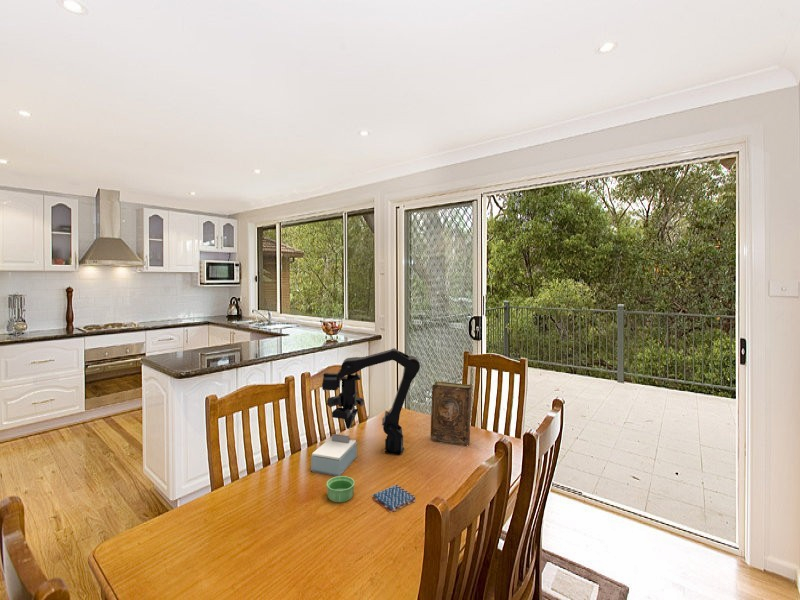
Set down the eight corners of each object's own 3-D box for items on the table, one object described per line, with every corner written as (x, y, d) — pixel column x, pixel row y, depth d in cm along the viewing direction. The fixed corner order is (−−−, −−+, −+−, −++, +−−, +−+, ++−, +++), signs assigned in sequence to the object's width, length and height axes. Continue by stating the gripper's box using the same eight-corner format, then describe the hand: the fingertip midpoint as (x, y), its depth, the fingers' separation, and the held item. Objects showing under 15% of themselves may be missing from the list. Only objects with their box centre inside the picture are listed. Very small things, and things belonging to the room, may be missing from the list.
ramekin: (320, 498, 127) (320, 485, 127) (337, 485, 135) (337, 473, 135) (343, 507, 123) (343, 493, 123) (359, 493, 131) (360, 480, 131)
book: (470, 441, 174) (472, 384, 172) (468, 446, 168) (470, 388, 167) (433, 436, 178) (434, 381, 177) (430, 441, 173) (432, 384, 172)
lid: (331, 438, 159) (331, 431, 159) (356, 442, 156) (356, 434, 156) (312, 455, 144) (312, 446, 144) (339, 459, 141) (339, 451, 141)
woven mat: (370, 500, 128) (370, 493, 128) (395, 489, 135) (396, 483, 135) (390, 515, 120) (390, 509, 120) (417, 503, 127) (417, 496, 127)
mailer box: (330, 452, 160) (331, 439, 159) (356, 456, 157) (356, 443, 156) (311, 471, 144) (311, 456, 144) (339, 476, 141) (339, 461, 141)
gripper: (340, 382, 172) (339, 418, 173) (319, 394, 154) (319, 434, 155) (364, 384, 168) (363, 421, 169) (346, 397, 151) (346, 438, 152)
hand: (348, 428), depth 161 cm, fingers closed
